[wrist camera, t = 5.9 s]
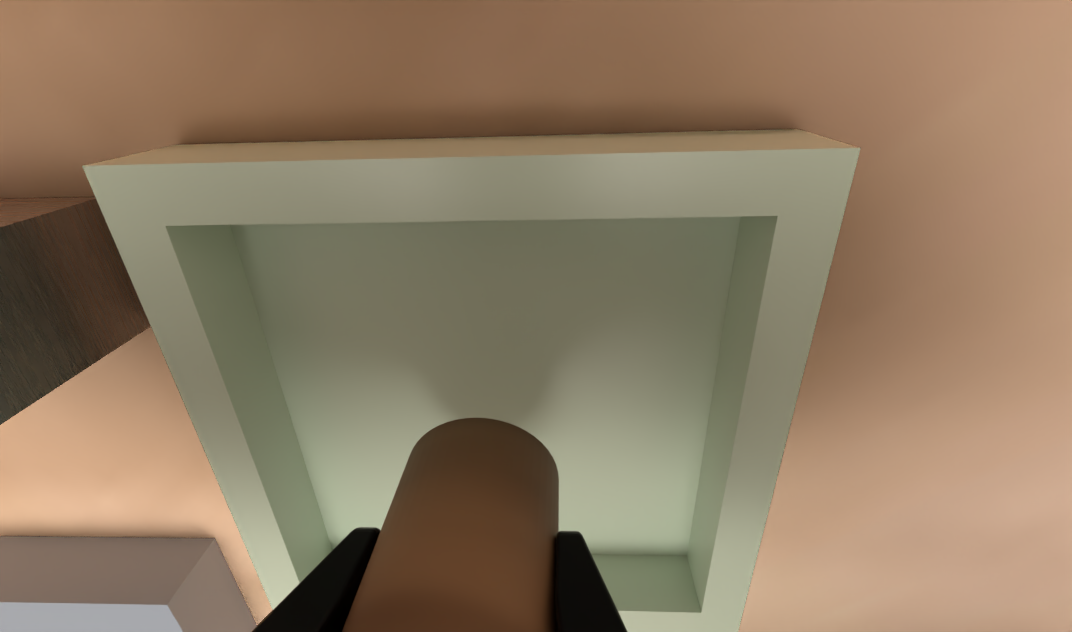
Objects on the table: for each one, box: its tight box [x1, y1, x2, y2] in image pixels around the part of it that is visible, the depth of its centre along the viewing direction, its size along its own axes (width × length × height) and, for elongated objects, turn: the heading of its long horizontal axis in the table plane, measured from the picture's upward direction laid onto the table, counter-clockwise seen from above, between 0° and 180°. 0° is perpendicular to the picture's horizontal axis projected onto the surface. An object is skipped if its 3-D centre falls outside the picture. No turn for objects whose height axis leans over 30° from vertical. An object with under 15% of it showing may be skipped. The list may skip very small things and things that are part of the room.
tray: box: [82, 129, 861, 632], centre depth 11 cm, size 12×12×2 cm
